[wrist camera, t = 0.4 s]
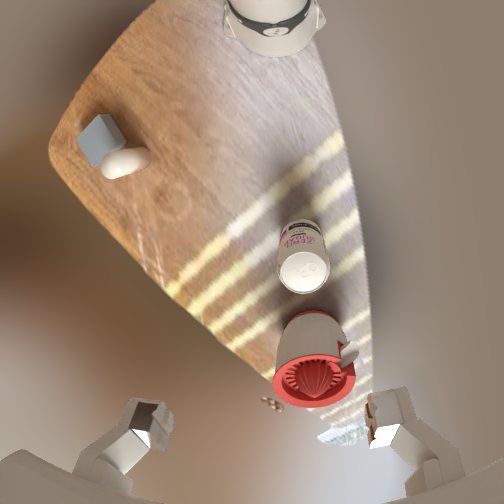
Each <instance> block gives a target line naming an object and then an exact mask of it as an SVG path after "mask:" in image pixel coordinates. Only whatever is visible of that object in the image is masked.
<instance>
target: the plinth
mask: <svg viewBox="0 0 504 504" xmlns="http://www.w3.org/2000/svg"><path fill="white" fill-rule="evenodd" d="M76 140H77V142H78V144H79V145H80V147H81V149H82V151H83V152H84V154H85V156H86V157H87V159H88V161H89V163H90V164H91V166H92V168H93V167H97V166H100V165H101V160H102V158H103V156H104V155H105V154H106V153H108V152H112V151H117V150H119V149H120V148H121V147H122V146H123V145H124V144H125V143H126V142H127V141H126V140H125V138H124V137H123V135H122V133H121V132H120V130H119V129H118V127H117V125H116V124H115V122H114V120H113V119H112V117H111V116H110V114H98V115H97V116H96V117H95V118H94V120H93V121H92V122H91V123H90V124H89V125H88V126H87V127H86V128H85V129H84V130H83V132H82V133H81V134H80V135H79V136H78V137H77V138H76Z"/></svg>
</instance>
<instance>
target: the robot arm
mask: <svg viewBox="0 0 504 504" xmlns="http://www.w3.org/2000/svg"><path fill="white" fill-rule="evenodd" d="M224 9H225V18H224V28H223V31H224V34H225V35H226V36H228V37H230V38H233V39H236V40H238V41H240V42H241V43H242V44H243V45H244V46H245V47H247V48H248V49H249V50H251V51H253V52H255V53H257V54H260V55H263V56H268V57H283V56H288V55H291V54H294V53H296V52H298V51H300V50H301V49H303V48H304V47H305V46H306V45H307V44H308V43H309V42H310V40H311V38H312V37H313V35H314V33H315V32H316V31H318V30H320V29H321V28H322V27H324V26H325V24H326V18H325V16H324V14H323V12H322V10H321V8H320V6H319V4H318V2H317V0H226V4H225V5H224ZM319 16H320V17H319ZM229 26H230V27H229ZM367 400H368V403H367V404H366V405H365V414H364V415H365V423H366V426H367V427H369V431H368V434H367V435H368V441H369V446H370V448H372V447H379V446H384V445H389V444H390V446H391V447H392V448H393V449H394V450H395V451H396V453H397V454H398V455H399V456H400V457H401V458H402V459H403V460H404V461H405V462H406V463H407V464H408V465H409V466H410V467H411V468H412V469H413V470H414V471H415V472H414V474H413V475H412V476H411V477H410V478H409V479H408V480H407V481H406V482H405V489H406V496H407V497H406V498H403V499H399V500H395V501H391V502H387V503H383V504H504V457H503V458H502V459H500V460H498V461H496V462H494V463H492V464H490V465H489V466H486V467H484V468H482V469H480V470H478V471H476V472H474V473H472V474H470V475H467V476H466V475H465V472H464V468H463V464H462V460H461V457H460V453H459V450H458V449H457V448H456V447H455V446H454V445H452V444H451V443H450V442H449V441H447V440H446V439H445V438H444V437H442V436H441V435H440V434H438V433H437V432H436V431H435V430H433V429H432V428H431V427H429V426H428V425H427V424H426V423H424V422H423V421H422V420H417V418H416V414H415V411H414V408H413V405H412V402H411V399H410V395H409V392H408V389H407V388H406V387H405V386H404V387H399V388H395V389H389V390H385V391H380V392H375V393H370V394H368V397H367ZM166 406H167V405H166V404H165V403H164V402H163V401H154V400H145V399H139V398H131V399H130V400H129V401H128V404H127V406H126V408H125V410H124V413H123V415H122V418H121V420H120V422H119V425H118V427H117V426H115V427H113V428H112V429H111V430H109V431H108V432H107V433H105V434H104V435H103V436H102V437H100V438H99V439H98V440H96V441H95V442H94V443H92V444H91V445H90V446H88V447H87V448H85V449H84V450H83V451H81V454H80V456H79V458H78V460H77V463H76V465H75V468H74V470H73V472H72V473H70V472H67V471H65V470H63V469H61V468H59V467H57V466H55V465H53V464H51V463H49V462H47V461H45V460H43V459H41V458H39V457H37V456H35V455H34V454H32V453H30V452H28V451H26V450H23V449H21V450H18V451H16V452H14V453H13V454H11V455H9V456H7V457H5V458H4V459H3V460H1V461H0V504H163V503H158V502H154V501H150V500H146V499H143V498H139V497H135V496H132V495H130V492H131V489H132V486H133V481H132V480H131V479H130V478H128V477H127V476H125V473H126V472H128V471H129V470H130V469H131V468H132V466H134V464H136V463H137V462H138V461H139V460H140V459H141V458H142V457H143V456H144V455H145V454H146V453H147V452H148V451H149V450H150V449H157V450H163V451H167V447H168V444H169V440H170V438H169V435H168V434H169V433H170V432H171V431H172V430H173V426H174V417H173V414H172V413H171V411H169V410H168V409H166ZM149 448H150V449H149Z"/></svg>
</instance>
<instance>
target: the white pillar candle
mask: <svg viewBox="0 0 504 504" xmlns="http://www.w3.org/2000/svg"><path fill="white" fill-rule="evenodd" d="M150 162H151V154H150V152H149V150H148V149H147V148H145V147H134V148H128V149H123V150H117V151H112V152H108V153H106V154H105V155H104V156H103V158H102V160H101V171H102V173H103V175H104V176H105V177H107V178H109V179H115V178H118V177H121V176H124V175H127V174H130V173H133V172H136V171H139V170H142V169H145V168H147V167H148V166H149V164H150Z"/></svg>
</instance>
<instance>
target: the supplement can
mask: <svg viewBox="0 0 504 504" xmlns="http://www.w3.org/2000/svg"><path fill="white" fill-rule="evenodd" d="M277 274H278V276H279V279H280V281H281V282H282V283H283V284H284V285H285V286H286V287H287V288H288V289H289V290H291V291H293V292H295V293H301V294H306V293H312V292H314V291H316V290H318V289H319V288H320V287H321V286H322V285H323V284H324V283H325V282H326V280H327V278H328V276H329V274H330V261H329V257H328V253H327V250H326V246H325V242H324V238H323V235H322V232H321V229H320V228H319V227H318V226H317V224H316V223H314V222H312V221H310V220H307V219H297V220H293V221H291V222H290V223H288V224H287V225H286V226H285V227H284V228H283V230H282V233H281V236H280V244H279V252H278V260H277Z"/></svg>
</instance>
